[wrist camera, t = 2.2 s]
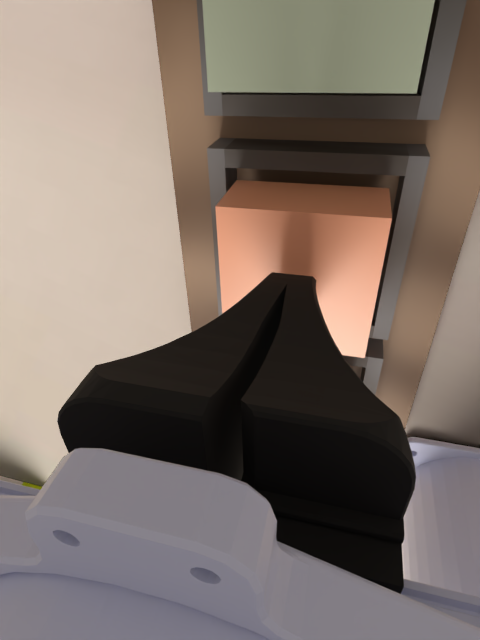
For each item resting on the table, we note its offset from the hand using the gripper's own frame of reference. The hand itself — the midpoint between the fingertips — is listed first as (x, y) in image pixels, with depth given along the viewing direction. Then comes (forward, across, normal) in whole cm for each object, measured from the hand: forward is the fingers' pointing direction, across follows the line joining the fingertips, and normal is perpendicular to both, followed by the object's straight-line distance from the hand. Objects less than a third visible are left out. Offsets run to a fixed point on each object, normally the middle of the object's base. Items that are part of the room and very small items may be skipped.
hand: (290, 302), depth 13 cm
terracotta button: (+3, 0, 0) cm, 3 cm away
